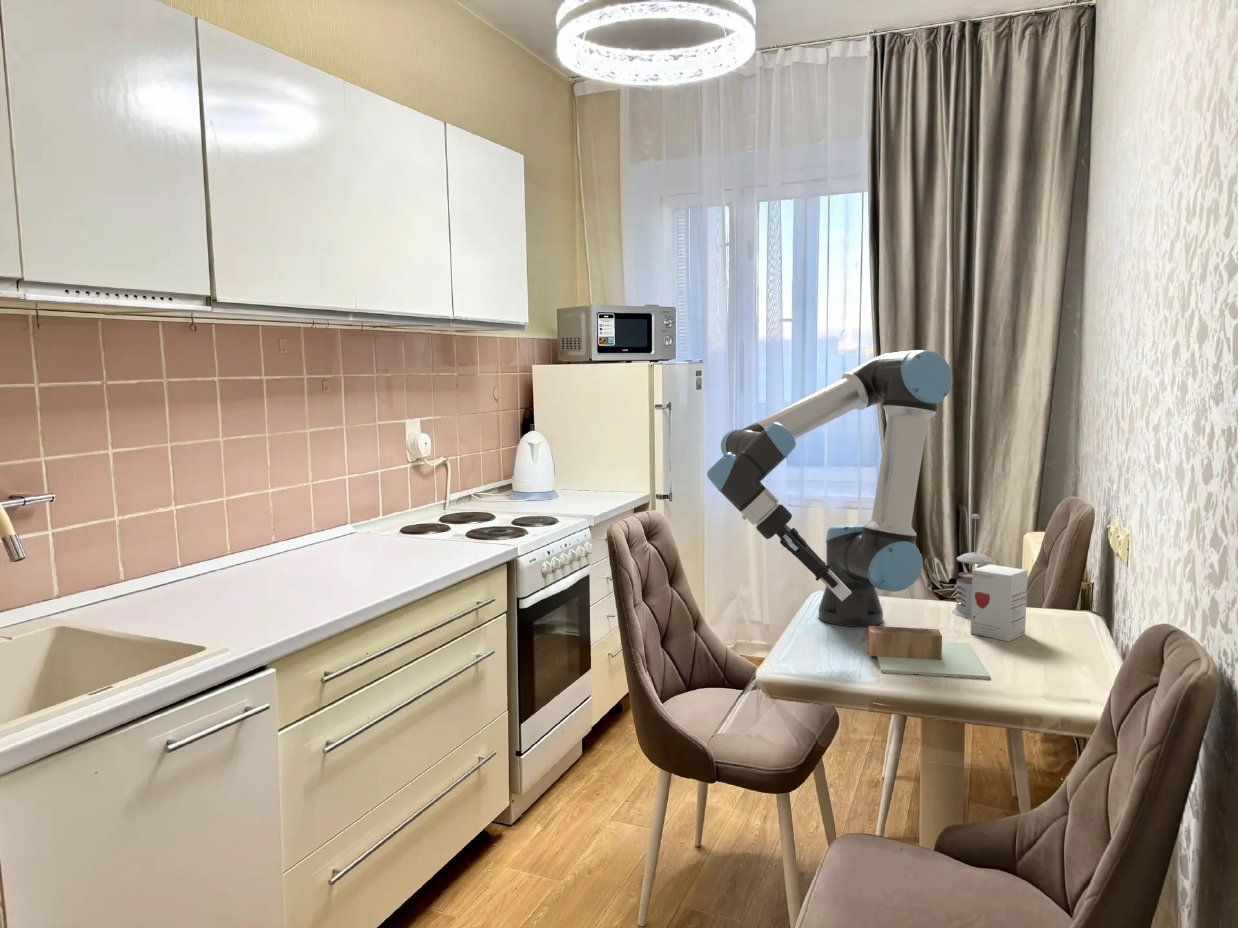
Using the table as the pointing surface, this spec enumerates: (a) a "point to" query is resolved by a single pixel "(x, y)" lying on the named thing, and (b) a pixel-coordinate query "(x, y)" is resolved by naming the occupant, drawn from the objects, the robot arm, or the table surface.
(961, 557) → the french press
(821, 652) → the table surface
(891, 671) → the mat
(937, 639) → the walnut block
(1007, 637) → the supplement box
